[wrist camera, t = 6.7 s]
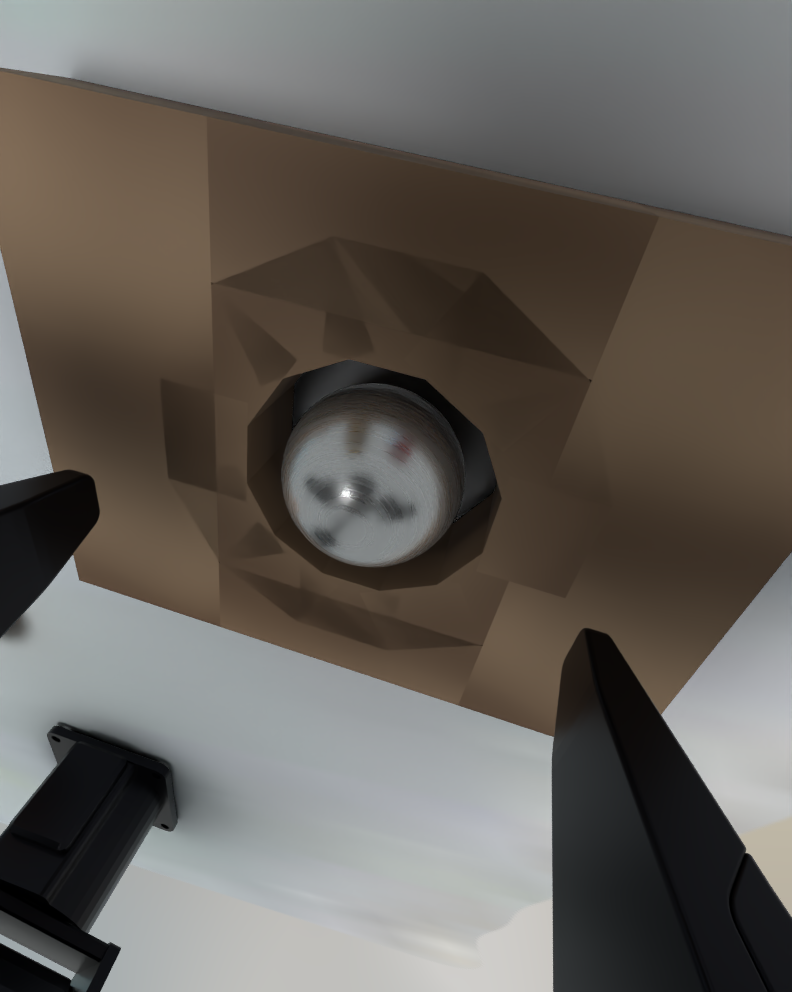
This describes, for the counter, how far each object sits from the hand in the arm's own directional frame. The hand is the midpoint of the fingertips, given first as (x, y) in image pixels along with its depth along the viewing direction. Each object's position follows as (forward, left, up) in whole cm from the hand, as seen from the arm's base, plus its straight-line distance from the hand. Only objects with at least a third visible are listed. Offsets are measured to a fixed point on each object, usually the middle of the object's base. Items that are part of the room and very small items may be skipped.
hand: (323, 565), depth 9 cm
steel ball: (0, 0, -3) cm, 3 cm away
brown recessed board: (0, 0, -5) cm, 5 cm away
